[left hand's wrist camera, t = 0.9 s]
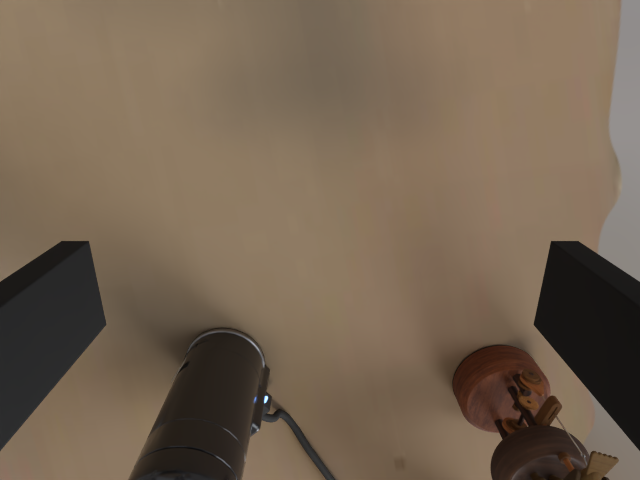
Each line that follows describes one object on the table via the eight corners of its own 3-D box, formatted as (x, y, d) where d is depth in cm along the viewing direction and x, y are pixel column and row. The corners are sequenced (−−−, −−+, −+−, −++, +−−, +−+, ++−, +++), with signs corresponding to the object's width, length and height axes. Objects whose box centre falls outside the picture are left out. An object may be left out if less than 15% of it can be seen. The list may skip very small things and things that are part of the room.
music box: (455, 333, 51) (555, 483, 32) (544, 329, 52) (690, 473, 33) (440, 433, 57) (519, 610, 38) (521, 428, 57) (636, 598, 39)
